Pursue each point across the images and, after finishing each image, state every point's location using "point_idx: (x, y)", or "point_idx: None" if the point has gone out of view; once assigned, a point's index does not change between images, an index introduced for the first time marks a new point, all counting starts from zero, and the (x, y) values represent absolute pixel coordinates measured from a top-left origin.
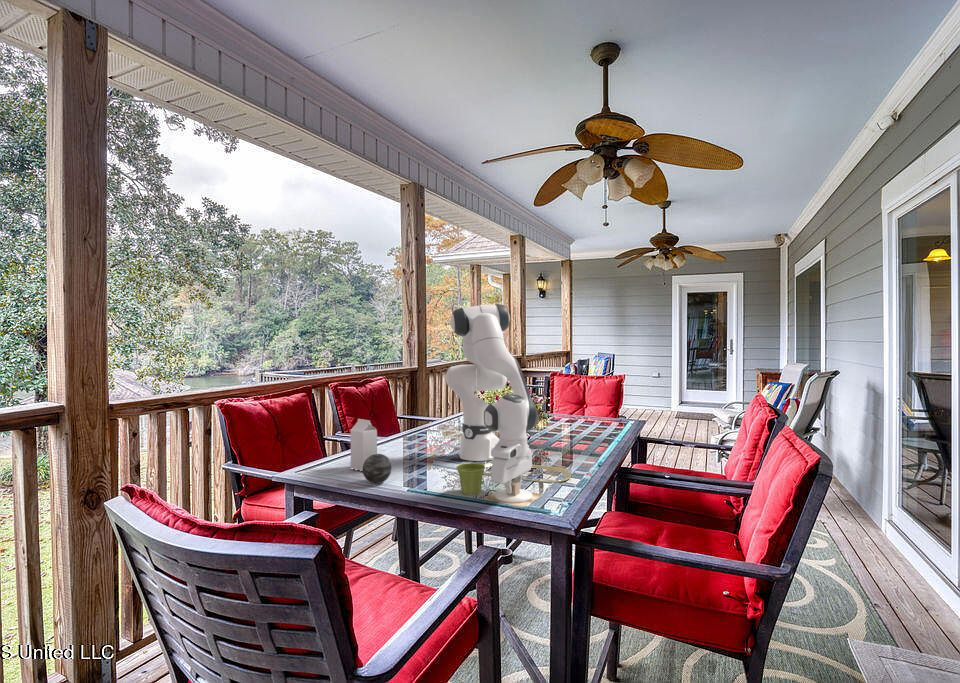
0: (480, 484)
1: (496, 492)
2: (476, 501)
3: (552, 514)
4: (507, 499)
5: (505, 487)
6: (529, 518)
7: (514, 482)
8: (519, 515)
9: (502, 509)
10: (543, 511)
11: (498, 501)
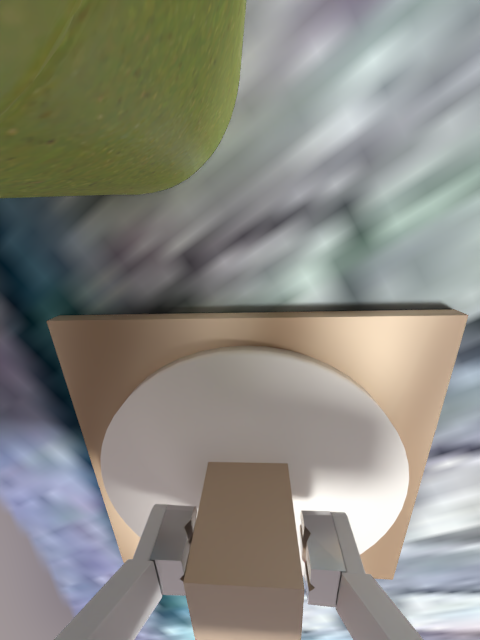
0: (90, 193)
1: (195, 378)
2: (12, 281)
3: (170, 632)
4: (121, 503)
5: (451, 326)
6: (67, 591)
7: (268, 621)
8: (59, 559)
9: (52, 482)
10: (175, 607)
11: (96, 440)
